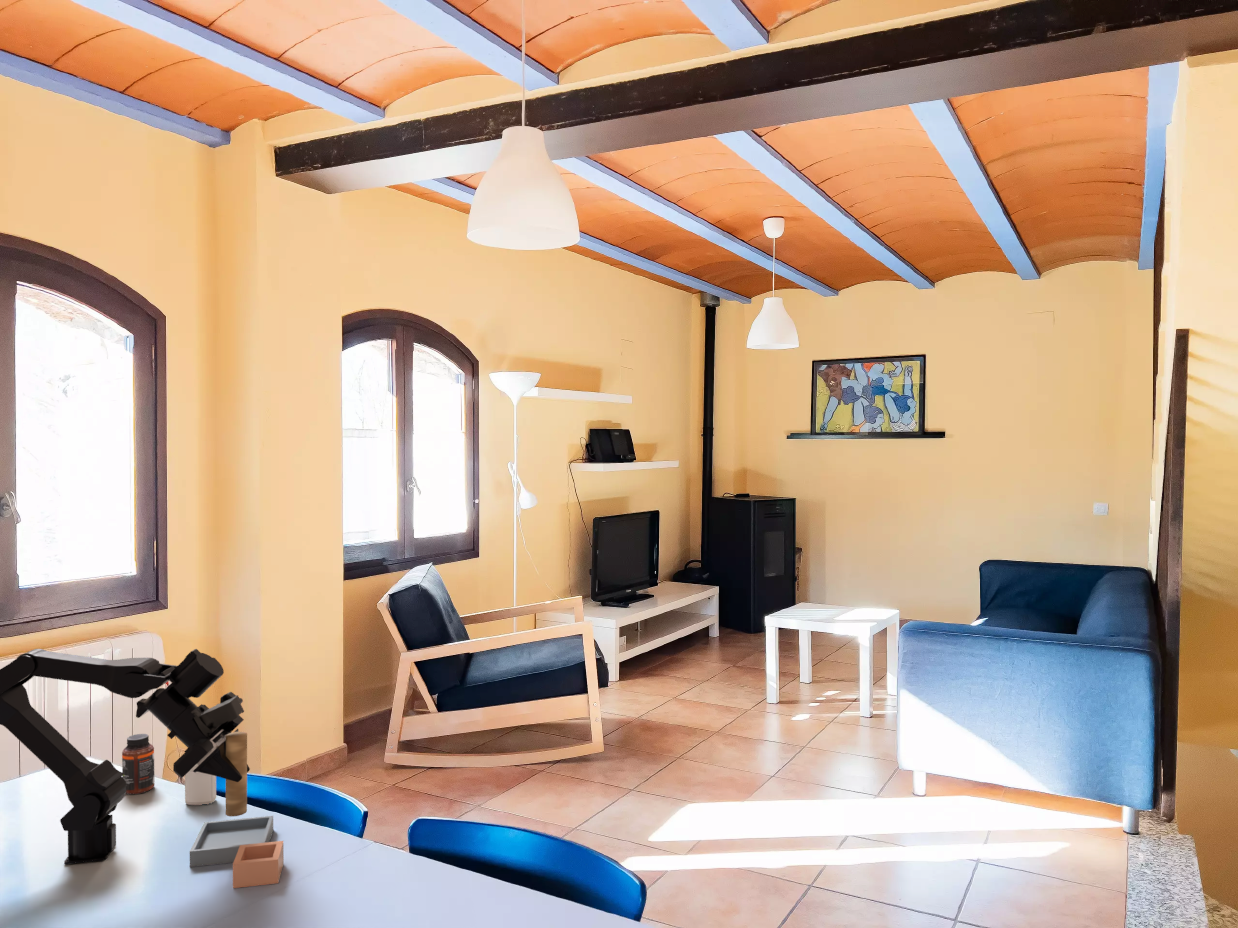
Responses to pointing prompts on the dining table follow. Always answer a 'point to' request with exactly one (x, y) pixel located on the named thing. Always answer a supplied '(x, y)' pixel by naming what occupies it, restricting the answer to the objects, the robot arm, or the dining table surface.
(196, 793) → the eye dropper bottle
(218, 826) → the tray
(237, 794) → the oak dowel
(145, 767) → the supplement bottle
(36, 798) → the dining table surface
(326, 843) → the dining table surface
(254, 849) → the terracotta socket
